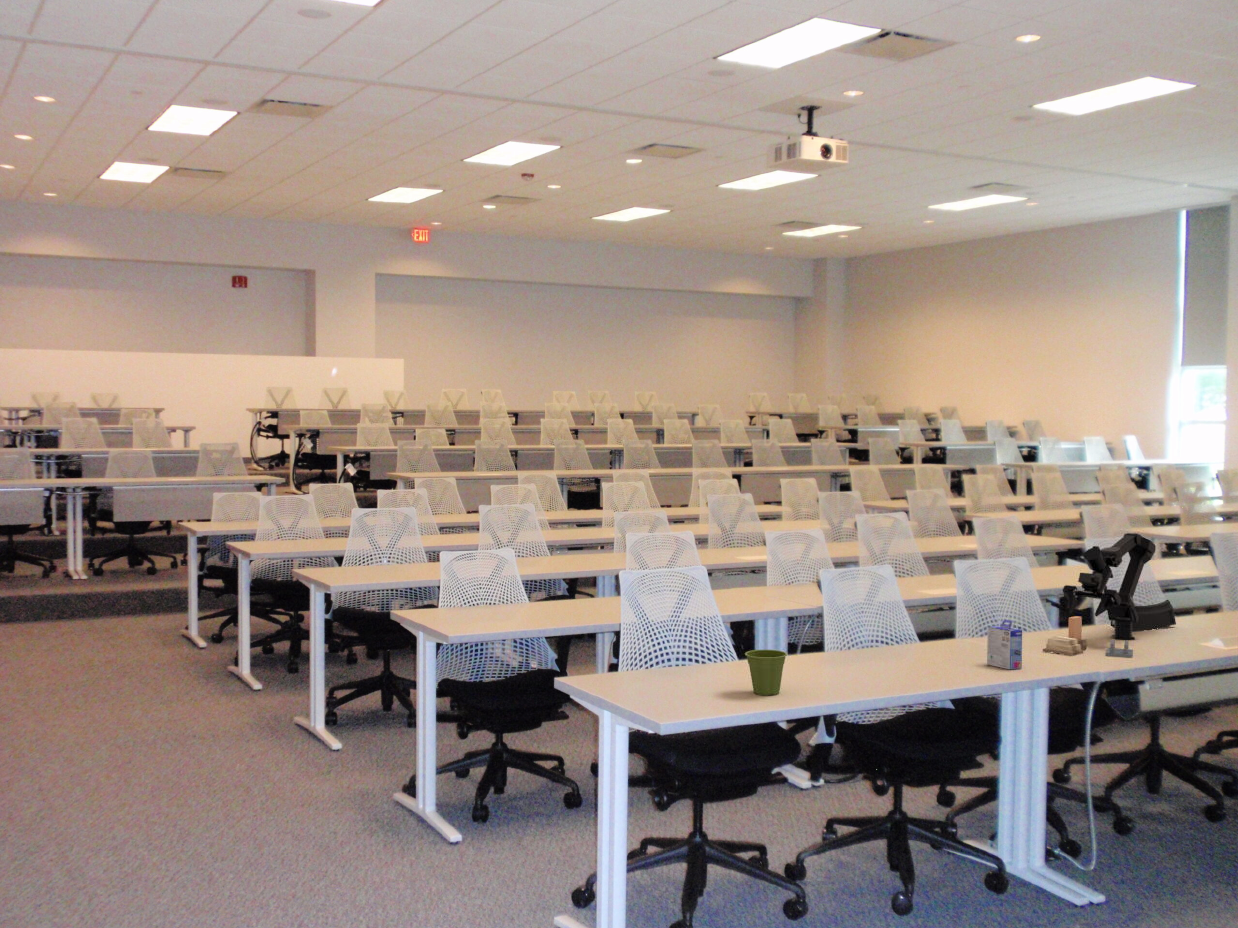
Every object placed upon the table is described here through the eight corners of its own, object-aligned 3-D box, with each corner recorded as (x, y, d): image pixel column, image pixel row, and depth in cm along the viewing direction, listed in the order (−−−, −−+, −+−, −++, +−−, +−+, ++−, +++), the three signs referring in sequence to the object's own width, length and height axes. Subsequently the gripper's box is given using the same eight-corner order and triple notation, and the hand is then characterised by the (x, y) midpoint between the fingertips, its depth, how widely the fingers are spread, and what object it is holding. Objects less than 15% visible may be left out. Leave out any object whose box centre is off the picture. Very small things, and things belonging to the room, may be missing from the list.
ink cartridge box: (1023, 668, 353) (1023, 622, 353) (1010, 670, 350) (1010, 623, 350) (999, 663, 362) (999, 617, 361) (986, 664, 359) (986, 619, 359)
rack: (1065, 646, 390) (1065, 633, 390) (1093, 650, 383) (1093, 636, 383) (1042, 651, 381) (1042, 638, 381) (1071, 655, 373) (1071, 641, 373)
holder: (1106, 650, 382) (1107, 638, 382) (1133, 652, 379) (1133, 640, 379) (1105, 655, 373) (1105, 643, 373) (1132, 657, 370) (1132, 645, 370)
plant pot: (744, 688, 326) (744, 649, 326) (786, 688, 325) (786, 649, 325) (745, 697, 315) (745, 656, 314) (788, 698, 314) (788, 657, 313)
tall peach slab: (1076, 648, 387) (1076, 616, 387) (1081, 649, 385) (1081, 616, 385) (1068, 650, 384) (1068, 617, 383) (1074, 650, 382) (1074, 618, 382)
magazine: (1173, 602, 433) (1118, 583, 421) (1181, 603, 430) (1125, 584, 418) (1164, 646, 431) (1108, 628, 419) (1171, 647, 428) (1115, 630, 416)
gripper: (1065, 562, 398) (1048, 596, 391) (1117, 566, 384) (1101, 601, 377) (1076, 582, 403) (1060, 616, 396) (1128, 587, 389) (1112, 623, 382)
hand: (1082, 614), depth 388 cm, fingers open, 9 cm apart
